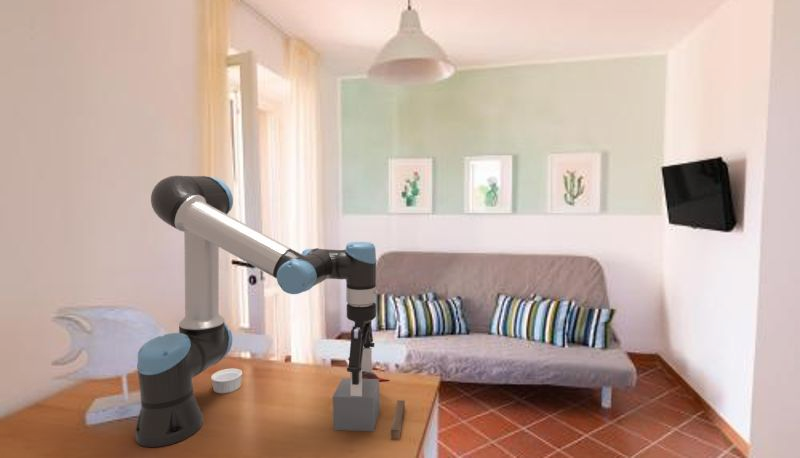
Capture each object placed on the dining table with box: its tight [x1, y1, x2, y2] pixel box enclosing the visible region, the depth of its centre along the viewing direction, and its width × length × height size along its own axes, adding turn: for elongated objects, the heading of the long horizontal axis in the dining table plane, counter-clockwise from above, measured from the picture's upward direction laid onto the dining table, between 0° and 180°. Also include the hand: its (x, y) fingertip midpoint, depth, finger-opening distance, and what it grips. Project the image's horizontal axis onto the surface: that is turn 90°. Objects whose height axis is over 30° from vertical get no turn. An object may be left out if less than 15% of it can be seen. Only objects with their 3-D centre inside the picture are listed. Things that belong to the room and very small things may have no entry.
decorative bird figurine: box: [347, 357, 391, 383], centre depth 125 cm, size 3×18×10 cm, turn 49°
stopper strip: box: [390, 399, 406, 441], centre depth 108 cm, size 2×14×2 cm, turn 174°
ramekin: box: [210, 368, 243, 394], centre depth 130 cm, size 9×9×4 cm
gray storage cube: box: [332, 377, 381, 432], centre depth 110 cm, size 10×10×9 cm
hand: (361, 382), depth 109 cm, fingers open, 13 cm apart
